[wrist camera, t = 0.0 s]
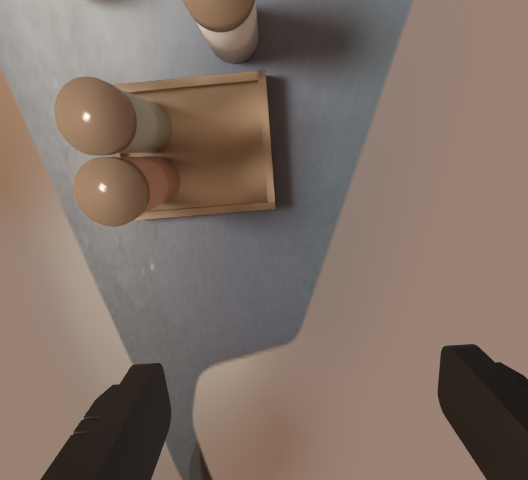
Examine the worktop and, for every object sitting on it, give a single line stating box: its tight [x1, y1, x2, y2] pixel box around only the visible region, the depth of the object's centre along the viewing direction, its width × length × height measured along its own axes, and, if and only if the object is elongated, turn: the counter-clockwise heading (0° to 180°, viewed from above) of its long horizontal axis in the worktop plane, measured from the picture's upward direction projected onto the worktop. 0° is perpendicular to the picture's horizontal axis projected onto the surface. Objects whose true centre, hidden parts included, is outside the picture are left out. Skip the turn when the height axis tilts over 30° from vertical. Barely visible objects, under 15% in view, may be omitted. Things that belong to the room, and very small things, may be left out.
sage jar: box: [55, 77, 172, 155], centre depth 28 cm, size 5×5×11 cm
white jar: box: [183, 0, 259, 64], centre depth 27 cm, size 5×5×11 cm
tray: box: [113, 70, 276, 220], centre depth 34 cm, size 14×17×2 cm
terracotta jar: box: [74, 156, 180, 226], centre depth 30 cm, size 5×5×11 cm
